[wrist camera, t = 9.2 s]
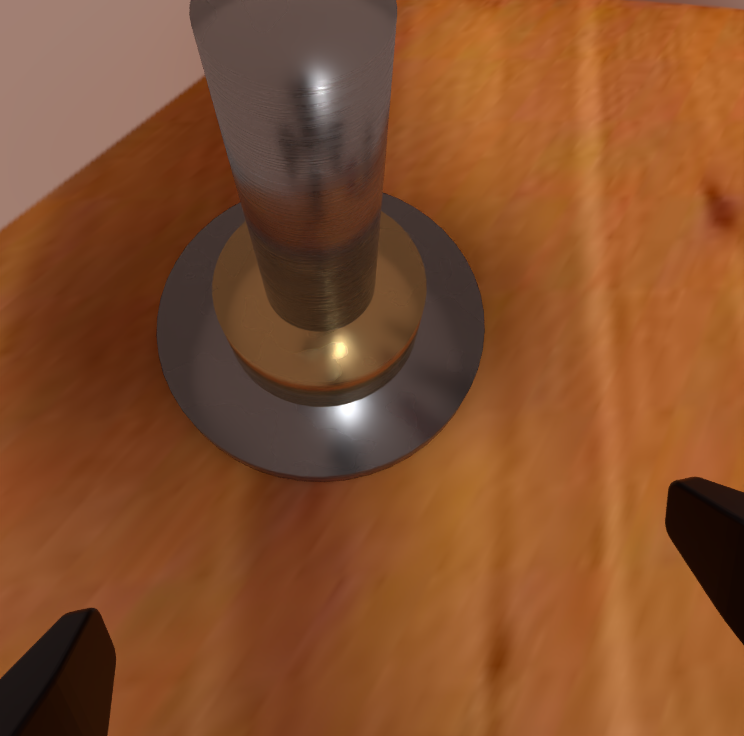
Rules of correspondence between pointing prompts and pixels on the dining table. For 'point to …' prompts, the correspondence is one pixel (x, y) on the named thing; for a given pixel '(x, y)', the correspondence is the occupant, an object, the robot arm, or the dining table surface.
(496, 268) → the dining table surface
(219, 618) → the dining table surface
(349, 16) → the grey and gold stamper
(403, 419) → the plate
